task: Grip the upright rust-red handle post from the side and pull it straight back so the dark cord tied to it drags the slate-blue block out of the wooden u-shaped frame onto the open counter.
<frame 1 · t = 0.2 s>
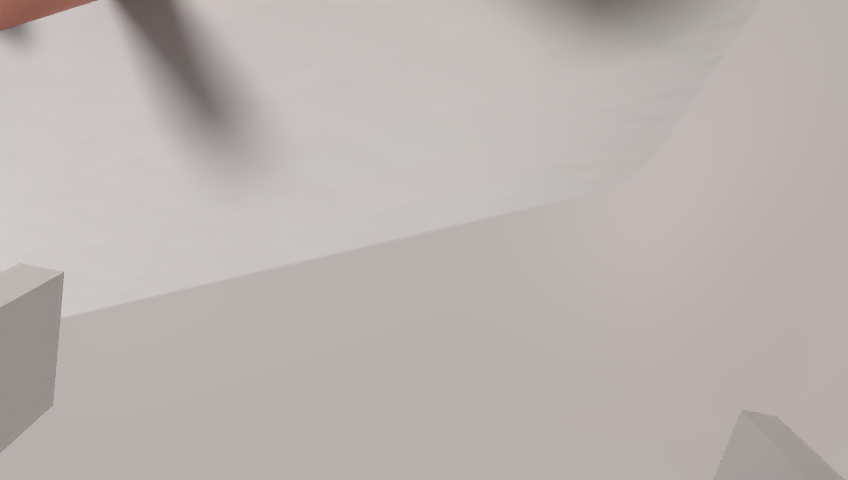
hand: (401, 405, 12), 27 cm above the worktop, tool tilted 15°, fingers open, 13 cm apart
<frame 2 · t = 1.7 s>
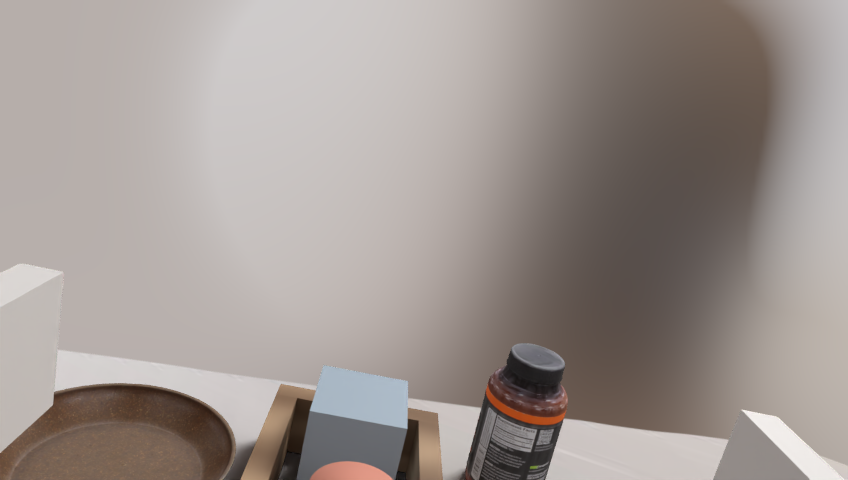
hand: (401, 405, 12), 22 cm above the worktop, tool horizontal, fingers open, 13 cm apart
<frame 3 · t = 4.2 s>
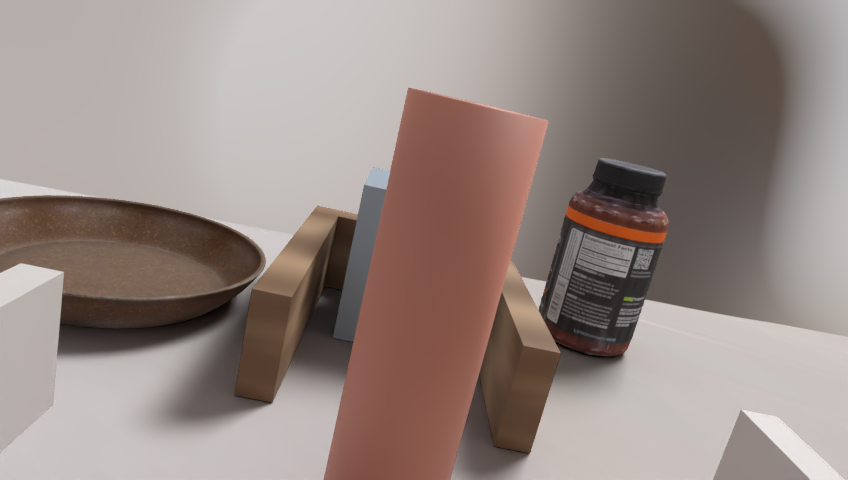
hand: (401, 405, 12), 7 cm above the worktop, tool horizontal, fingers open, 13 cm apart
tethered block: (393, 326, 34), on the worktop
saucer: (111, 289, 32), on the worktop
wooden u-shaped frame: (391, 349, 31), on the worktop
supplement bottle: (578, 341, 39), on the worktop
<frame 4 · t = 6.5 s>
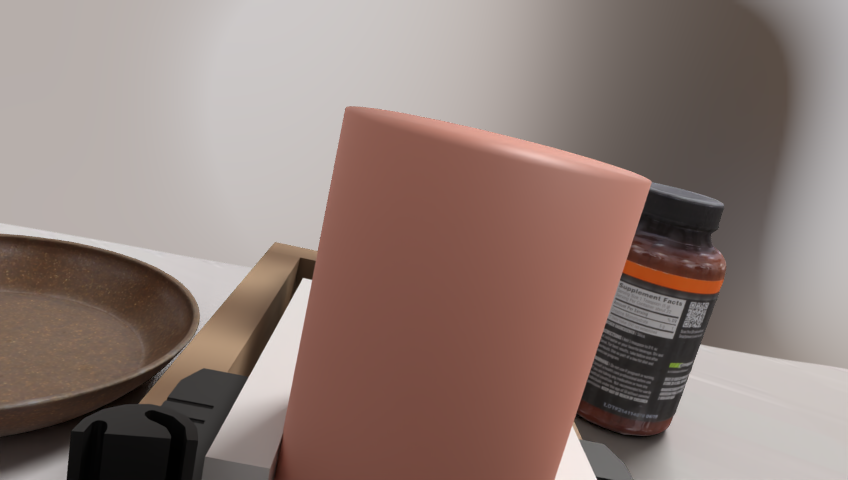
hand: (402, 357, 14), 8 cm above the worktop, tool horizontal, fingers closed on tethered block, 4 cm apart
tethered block: (368, 406, 26), on the worktop, touching gripper
wooden u-shaped frame: (364, 447, 23), on the worktop
supplement bottle: (606, 410, 31), on the worktop
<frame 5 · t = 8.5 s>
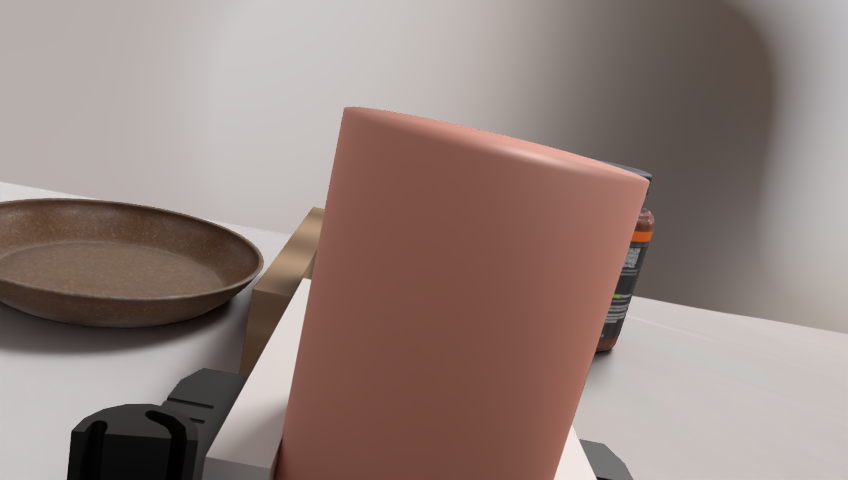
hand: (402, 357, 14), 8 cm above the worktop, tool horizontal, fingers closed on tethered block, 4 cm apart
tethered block: (367, 406, 26), on the worktop, touching gripper
saucer: (113, 289, 33), on the worktop
wooden u-shaped frame: (386, 346, 32), on the worktop
supplement bottle: (567, 337, 40), on the worktop
when the fingers open (8 cm above the worktop, at t = 10.5 s): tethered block stays where it is, on the worktop.
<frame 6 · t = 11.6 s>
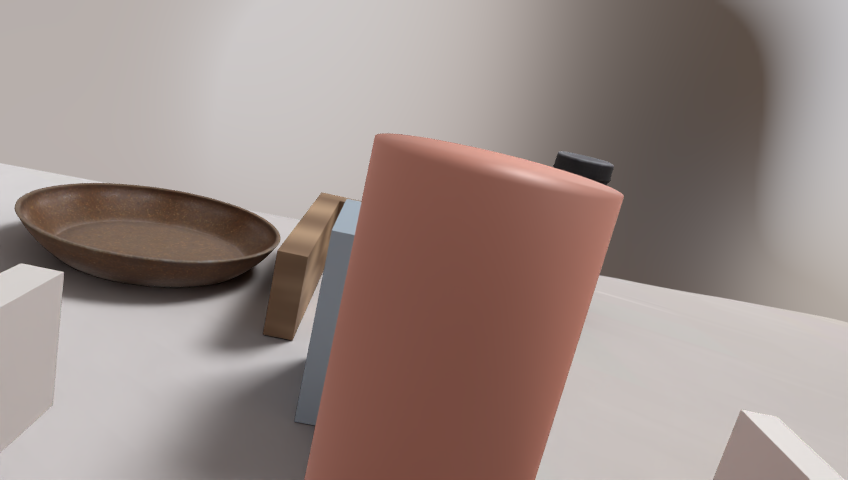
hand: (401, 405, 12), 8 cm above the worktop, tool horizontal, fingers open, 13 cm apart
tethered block: (372, 397, 27), on the worktop
saucer: (153, 259, 38), on the worktop
wooden u-shaped frame: (384, 307, 38), on the worktop
supplement bottle: (543, 306, 46), on the worktop
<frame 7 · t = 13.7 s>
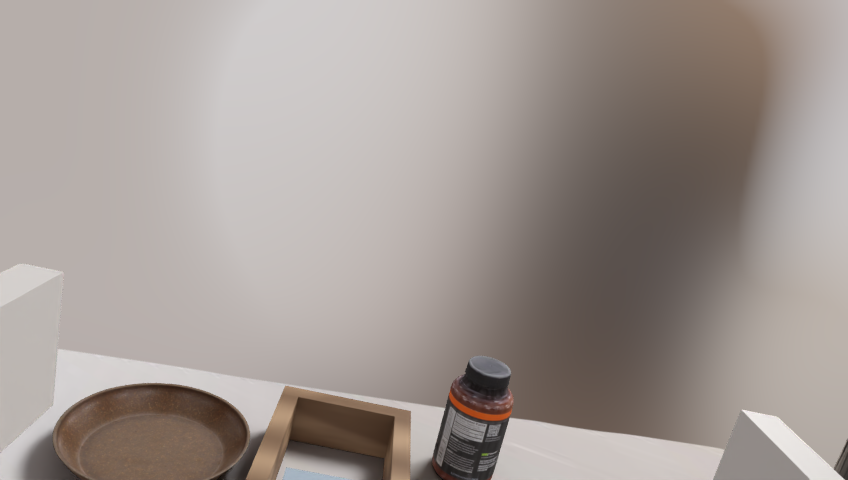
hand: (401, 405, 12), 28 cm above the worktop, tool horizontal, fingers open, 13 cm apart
saucer: (153, 458, 51), on the worktop
supplement bottle: (460, 473, 59), on the worktop
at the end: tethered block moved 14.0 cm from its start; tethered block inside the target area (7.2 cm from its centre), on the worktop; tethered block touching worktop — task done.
